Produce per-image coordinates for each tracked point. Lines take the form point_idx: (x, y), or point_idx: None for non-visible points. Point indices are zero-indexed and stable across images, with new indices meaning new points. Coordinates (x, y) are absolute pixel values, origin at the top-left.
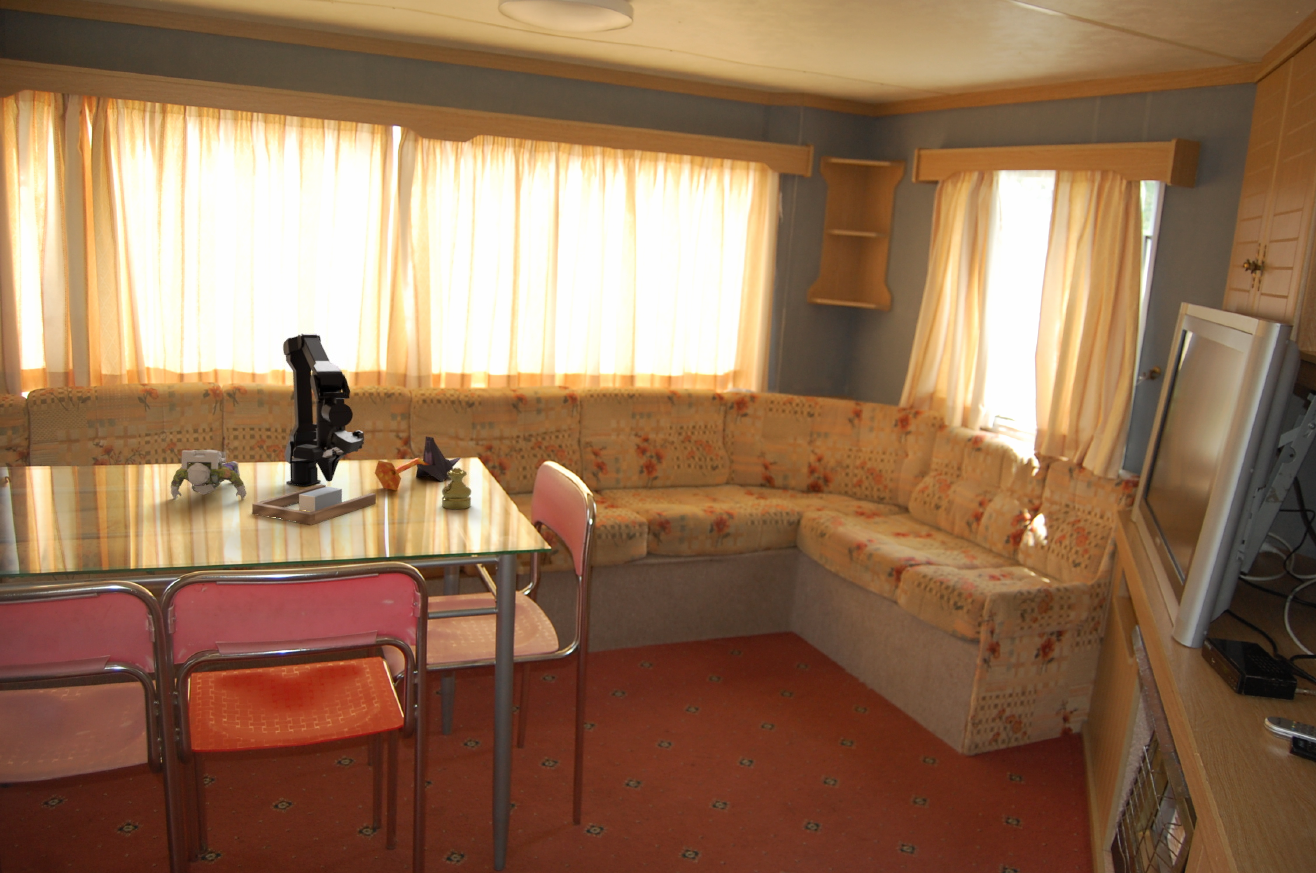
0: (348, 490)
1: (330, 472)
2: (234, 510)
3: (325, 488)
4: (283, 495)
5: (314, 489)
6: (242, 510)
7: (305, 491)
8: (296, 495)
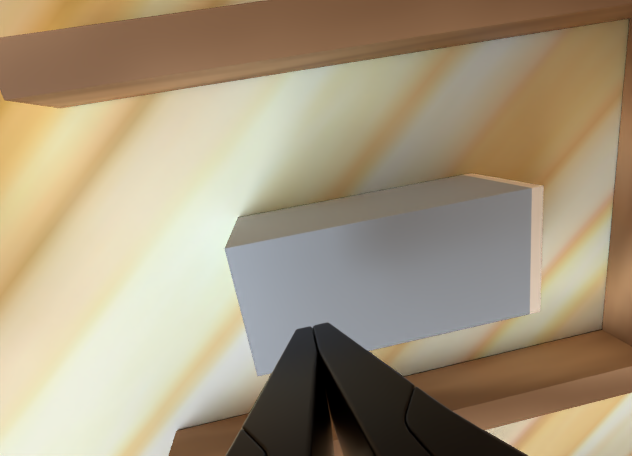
0: (13, 432)
1: (358, 368)
2: (612, 430)
3: None
4: (483, 424)
5: None
6: (599, 414)
7: None
8: None
